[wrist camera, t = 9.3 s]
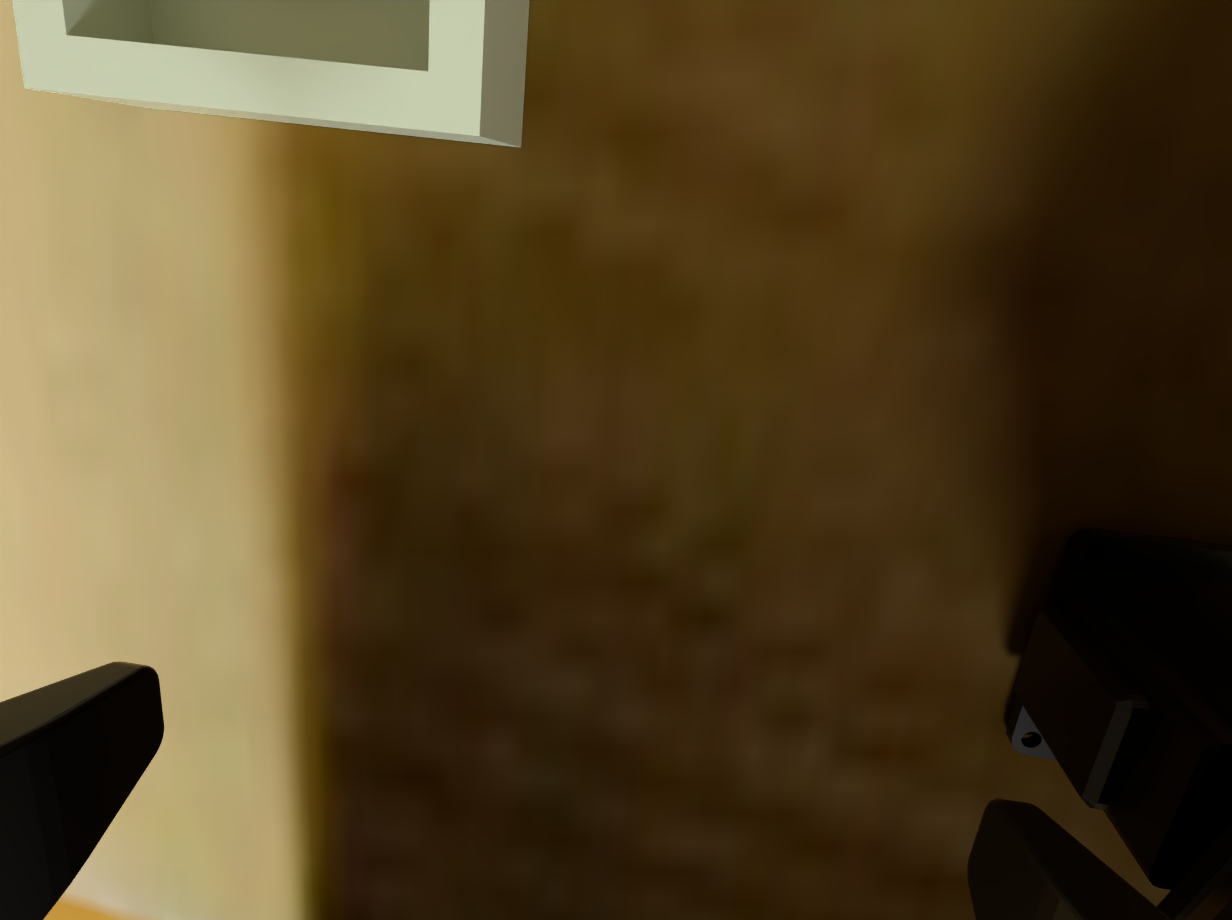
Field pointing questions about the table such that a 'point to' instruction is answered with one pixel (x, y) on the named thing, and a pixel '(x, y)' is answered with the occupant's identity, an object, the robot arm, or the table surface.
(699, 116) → the table surface
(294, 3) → the trough
